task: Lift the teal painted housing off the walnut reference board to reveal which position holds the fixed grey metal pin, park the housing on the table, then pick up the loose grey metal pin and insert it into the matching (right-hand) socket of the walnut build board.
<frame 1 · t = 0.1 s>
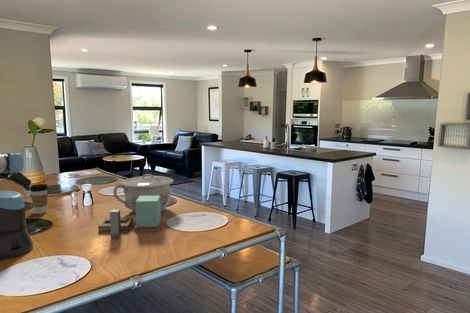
hand: (14, 194, 156), 15 cm above the table, tool tilted 35°, fingers open, 13 cm apart
coffee cup: (40, 212, 180), on the table
housing: (149, 223, 158), point 2 cm above the table, touching reference board
build board: (116, 227, 157), on the table
pin: (116, 237, 145), on the table
chamber pot: (148, 211, 183), on the table
reference board: (149, 227, 158), on the table
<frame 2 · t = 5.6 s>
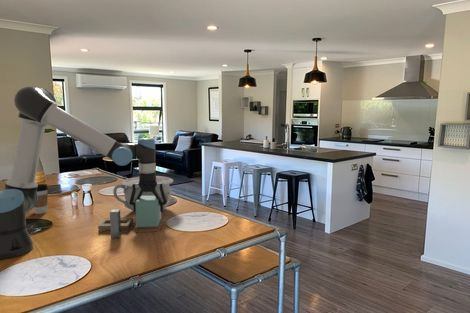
hand: (148, 218, 157), 4 cm above the table, tool pointing down, fingers closed on housing, 10 cm apart
housing: (149, 223, 158), point 2 cm above the table, touching gripper, reference board
everything else where it was.
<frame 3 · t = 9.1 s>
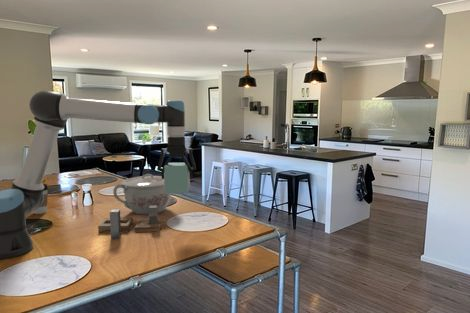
hand: (177, 185, 150), 21 cm above the table, tool pointing down, fingers closed on housing, 10 cm apart
housing: (177, 190, 151), point 19 cm above the table, touching gripper
everything else where it was.
when the fingers open (4 cm above the table, at t = 12.6 s): housing drops 1 cm, on the table.
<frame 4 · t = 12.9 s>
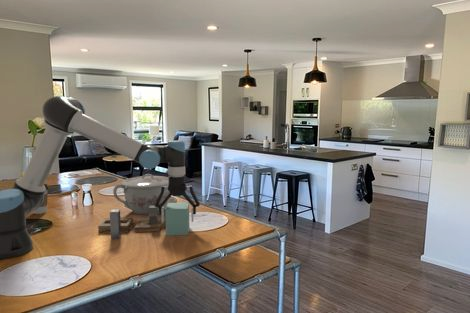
hand: (177, 221, 153), 5 cm above the table, tool pointing down, fingers open, 13 cm apart
housing: (178, 231, 153), on the table
everything else where it was.
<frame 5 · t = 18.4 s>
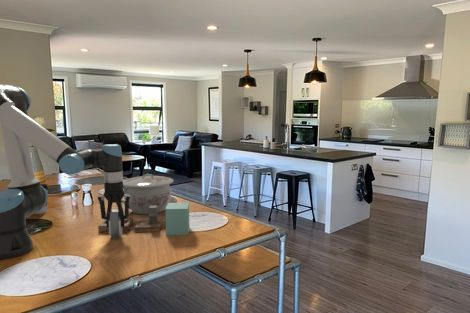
hand: (116, 233, 145), 2 cm above the table, tool pointing down, fingers closed on pin, 3 cm apart
pin: (116, 237, 145), on the table, touching gripper
everything else where it was.
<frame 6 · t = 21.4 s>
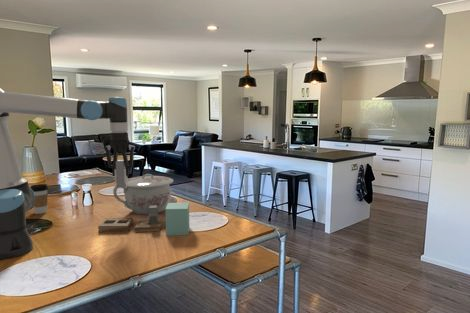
hand: (121, 182, 154), 22 cm above the table, tool pointing down, fingers closed on pin, 3 cm apart
pin: (121, 186, 154), point 20 cm above the table, touching gripper
everything else where it was.
when the fingers open (4 cm above the table, at t = 24.7 s): pin drops 2 cm, resting on build board.
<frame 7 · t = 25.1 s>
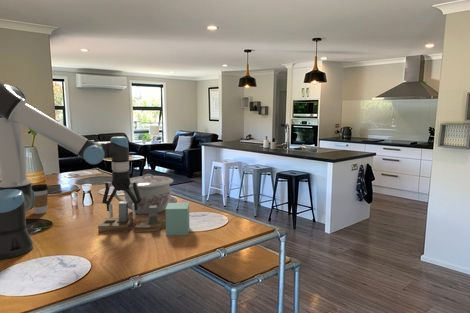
hand: (122, 217, 156), 5 cm above the table, tool pointing down, fingers open, 10 cm apart
pin: (123, 227, 157), resting on build board
everything else where it was.
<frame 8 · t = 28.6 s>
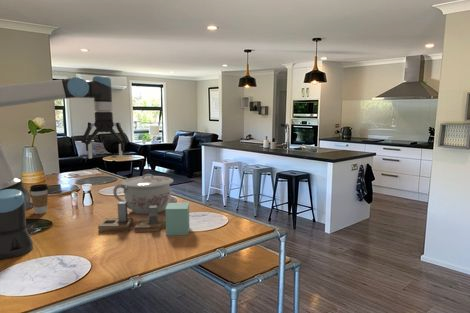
hand: (105, 158, 154), 33 cm above the table, tool pointing down, fingers open, 13 cm apart
nothing on the table moved.
at the end: pin 0.1 cm from the target spot on the build board, point 0.2 cm above the build board's base; pin tilted 0°; housing moved 15.4 cm from its start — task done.
